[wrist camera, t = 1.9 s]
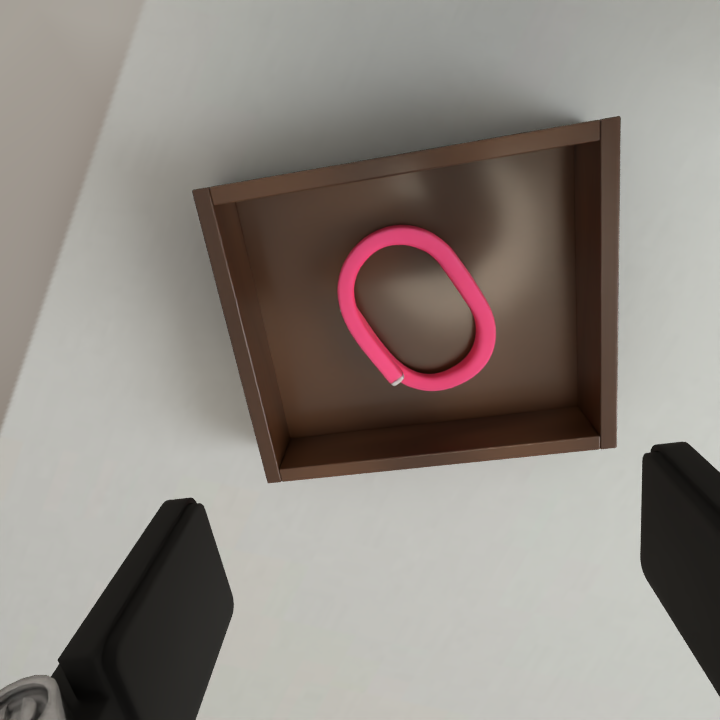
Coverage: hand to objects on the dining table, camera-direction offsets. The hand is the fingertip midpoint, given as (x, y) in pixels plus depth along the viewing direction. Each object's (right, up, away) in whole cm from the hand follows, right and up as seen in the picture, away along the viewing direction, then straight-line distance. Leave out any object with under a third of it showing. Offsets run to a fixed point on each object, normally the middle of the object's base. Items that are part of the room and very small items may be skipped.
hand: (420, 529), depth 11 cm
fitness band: (+1, +6, +13) cm, 15 cm away
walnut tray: (+1, +6, +13) cm, 15 cm away
